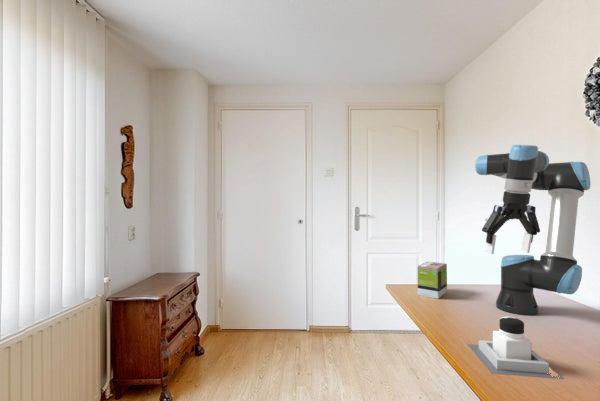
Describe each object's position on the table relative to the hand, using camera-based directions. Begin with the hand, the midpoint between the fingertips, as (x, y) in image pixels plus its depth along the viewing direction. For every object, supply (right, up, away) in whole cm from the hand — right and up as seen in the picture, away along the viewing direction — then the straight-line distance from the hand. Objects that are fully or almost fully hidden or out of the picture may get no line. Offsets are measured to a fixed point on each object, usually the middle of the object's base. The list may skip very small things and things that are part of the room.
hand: (507, 252), depth 115 cm
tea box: (-6, -29, +49) cm, 57 cm away
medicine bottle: (-10, -29, -18) cm, 36 cm away
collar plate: (-10, -30, -18) cm, 36 cm away
